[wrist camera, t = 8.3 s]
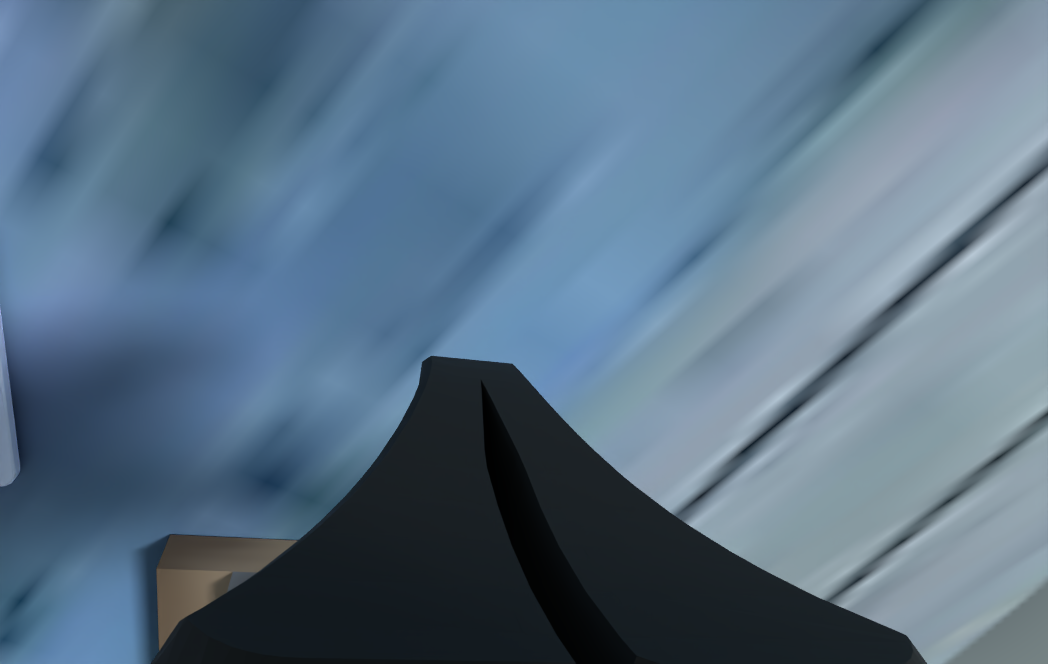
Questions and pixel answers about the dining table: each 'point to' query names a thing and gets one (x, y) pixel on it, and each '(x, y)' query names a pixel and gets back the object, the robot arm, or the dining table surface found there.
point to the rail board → (206, 572)
